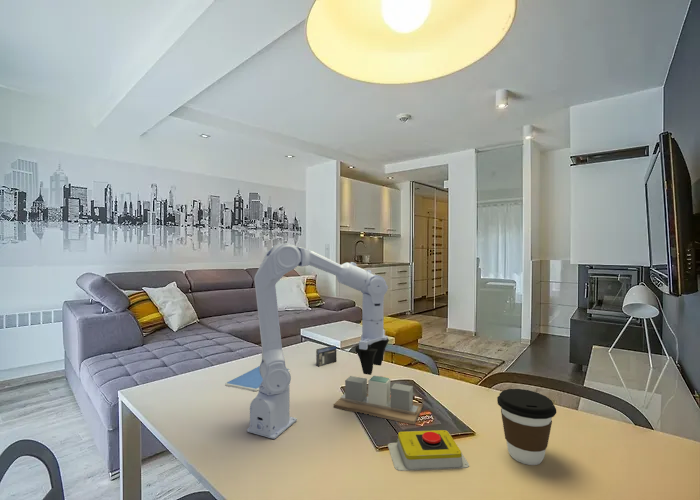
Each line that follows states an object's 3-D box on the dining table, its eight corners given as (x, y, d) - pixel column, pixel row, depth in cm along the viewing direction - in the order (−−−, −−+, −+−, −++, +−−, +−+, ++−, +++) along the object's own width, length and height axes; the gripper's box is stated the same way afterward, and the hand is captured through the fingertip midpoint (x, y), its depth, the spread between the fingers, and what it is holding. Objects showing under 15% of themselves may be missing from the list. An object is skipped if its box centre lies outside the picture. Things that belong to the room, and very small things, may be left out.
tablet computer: (261, 367, 125) (261, 363, 125) (291, 372, 120) (291, 368, 120) (223, 387, 107) (223, 383, 107) (257, 393, 103) (257, 389, 103)
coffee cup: (565, 476, 65) (566, 413, 65) (504, 469, 67) (504, 408, 67) (543, 443, 76) (544, 389, 76) (491, 438, 78) (491, 386, 77)
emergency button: (471, 448, 67) (395, 451, 66) (471, 470, 67) (395, 473, 66) (453, 423, 77) (387, 426, 76) (453, 443, 77) (387, 445, 76)
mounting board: (414, 424, 84) (414, 421, 84) (333, 407, 93) (333, 404, 93) (422, 407, 93) (422, 404, 93) (348, 393, 102) (348, 390, 102)
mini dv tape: (318, 367, 124) (318, 350, 124) (316, 365, 125) (316, 349, 125) (336, 362, 130) (336, 346, 129) (333, 361, 131) (334, 345, 131)
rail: (415, 415, 87) (415, 412, 87) (340, 399, 95) (340, 397, 95) (418, 409, 90) (418, 406, 90) (345, 394, 99) (345, 392, 99)
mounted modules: (409, 411, 87) (409, 391, 87) (345, 398, 95) (345, 380, 95) (412, 405, 91) (412, 386, 91) (350, 393, 98) (350, 375, 98)
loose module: (386, 406, 90) (386, 382, 90) (368, 403, 92) (368, 379, 92) (390, 400, 93) (390, 377, 93) (373, 397, 95) (373, 375, 95)
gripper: (377, 325, 84) (377, 381, 85) (395, 315, 98) (394, 363, 98) (351, 323, 87) (351, 376, 87) (371, 313, 101) (371, 359, 101)
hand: (372, 369), depth 93 cm, fingers open, 7 cm apart
